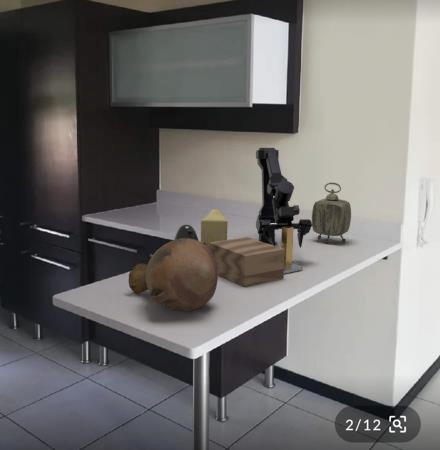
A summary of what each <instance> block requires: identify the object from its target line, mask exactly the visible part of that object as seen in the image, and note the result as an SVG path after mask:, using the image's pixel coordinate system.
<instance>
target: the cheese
mask: <svg viewBox="0 0 440 450" xmlns="http://www.w3.org/2000/svg"><path fill="white" fill-rule="evenodd" d="M223 240H228V220H227V219H226V217H225V216H224V214H223V213H221V211H220V210H219V209H217V208H213V209H211V210H210V211H209V213H208V214H207V215H206V216H205V217H204V218H202V219H201V220H200V242H201V243H207V244H208V245H209V243H210V242H217V241H223Z"/></svg>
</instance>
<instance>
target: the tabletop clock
mask: <svg viewBox="0 0 440 450" xmlns="http://www.w3.org/2000/svg"><path fill="white" fill-rule="evenodd" d="M328 185H333V186H334V185H335V186H338V188H339V190H336V191H335V189H331V190H328V189H327V188H326V187H327V186H328ZM324 190H325V191H326V192H327V193H329V194H327V195H326V197H325V198H322V199H319V200H317V201H314V204H313V206H312V212H311V222H312V227H311V228H312V231H313V232H314V233H316V234H318V235H317V239H318V240H321V238H322V235H324V236H326V237H327V239H326V240H325V243H326V244H330V242H331V240H330V236H331V237H339V236H340V238H341V242H342V243H346V241H347V240H346V238H344V237H343V235H344V234H346V233H348V232H349V229H350V226H351V219H352V207H351V203H350V202H349V201H347V200H344V199H341V198H340V199H339V196H338V195H337V194H338V193H340V192H341V190H342V188H341V185H340V184H339V183H336V182H328V183H326V184H325V185H324Z"/></svg>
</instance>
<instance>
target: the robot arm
mask: <svg viewBox="0 0 440 450" xmlns="http://www.w3.org/2000/svg"><path fill="white" fill-rule="evenodd" d="M279 158H280V157H279V149H276V148H275V147H258V149H257V150H256V151H255V159H256V160H257V165H258V167H259V168H260V170H261V189H262V190H261V195H262V196H261V197H262V199H261V201H262V206H261V207H260V210H259V211H258V215H257V217H256V220H255V221H256V222H255V228H256V230H257V234H258V241H261V242H264V243H267V244H270V245H273V246H276V245H278V242H277V241H276V233H275V232H276V231H277V230H278V231H279V230H282V227H284V226H290V227H293V230H296V231H297V234H296V235H297V240H298V246H299V248H302V245H303V241H304V236H306V235H307V234H309V233H310V231H311V230H312V229H311V228H312V219H309V218H308V219H307V218H306V219H299V222H297V223H296V222H295V223H293V221H294V219H295V218H294V217H295V216H298V215H300V206H299V204H297V205H296V204H294V205H293V206H290V205H289V202H290V201H291V199H292V196H293V193H294V190H295V186H294V184H293V183H292V182H291V181H288V178H286V177H285V176H284V175H282V170H281V167H280V166H281V165H280V161H279Z"/></svg>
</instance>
